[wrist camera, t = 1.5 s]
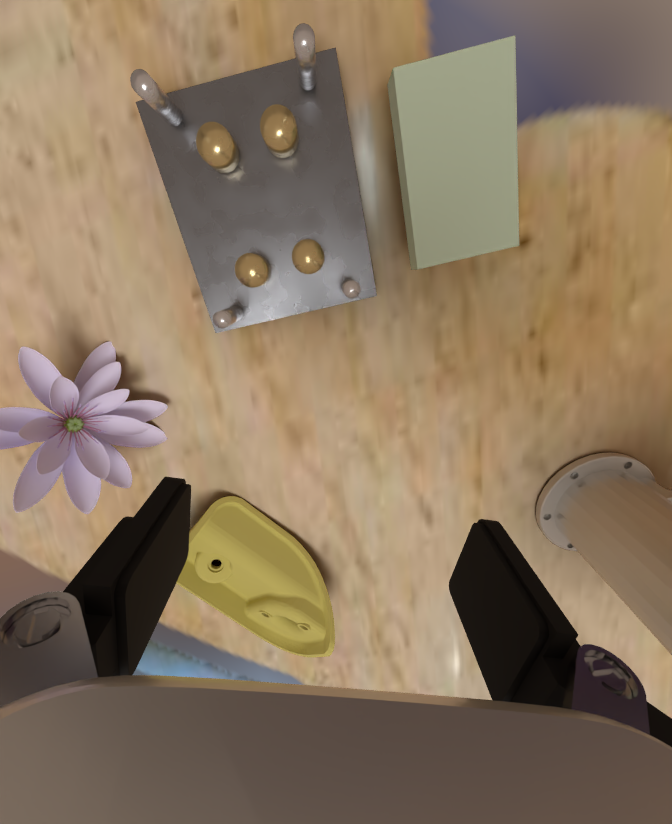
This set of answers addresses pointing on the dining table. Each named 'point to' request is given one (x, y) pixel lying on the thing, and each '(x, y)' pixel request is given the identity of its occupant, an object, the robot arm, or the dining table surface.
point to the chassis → (264, 186)
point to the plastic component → (259, 578)
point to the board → (457, 152)
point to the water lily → (77, 428)
